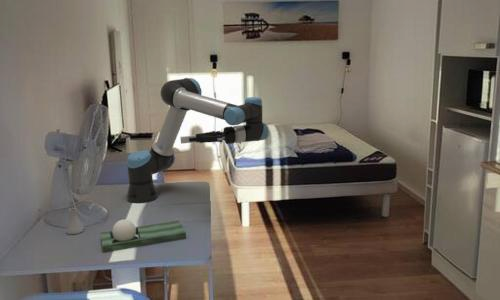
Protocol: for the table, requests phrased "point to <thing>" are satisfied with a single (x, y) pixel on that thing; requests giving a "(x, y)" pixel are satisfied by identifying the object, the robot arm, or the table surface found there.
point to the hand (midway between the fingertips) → (181, 140)
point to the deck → (146, 236)
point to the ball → (124, 230)
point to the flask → (74, 223)
